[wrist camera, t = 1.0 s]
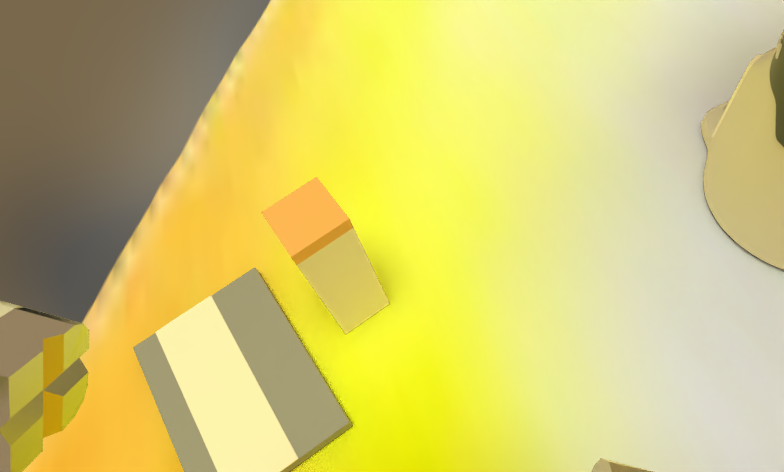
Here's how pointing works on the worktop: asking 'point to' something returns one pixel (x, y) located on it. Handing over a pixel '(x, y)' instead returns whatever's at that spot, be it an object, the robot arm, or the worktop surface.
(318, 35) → the worktop surface
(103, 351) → the worktop surface
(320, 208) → the orange-capped beige pillar
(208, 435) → the board
